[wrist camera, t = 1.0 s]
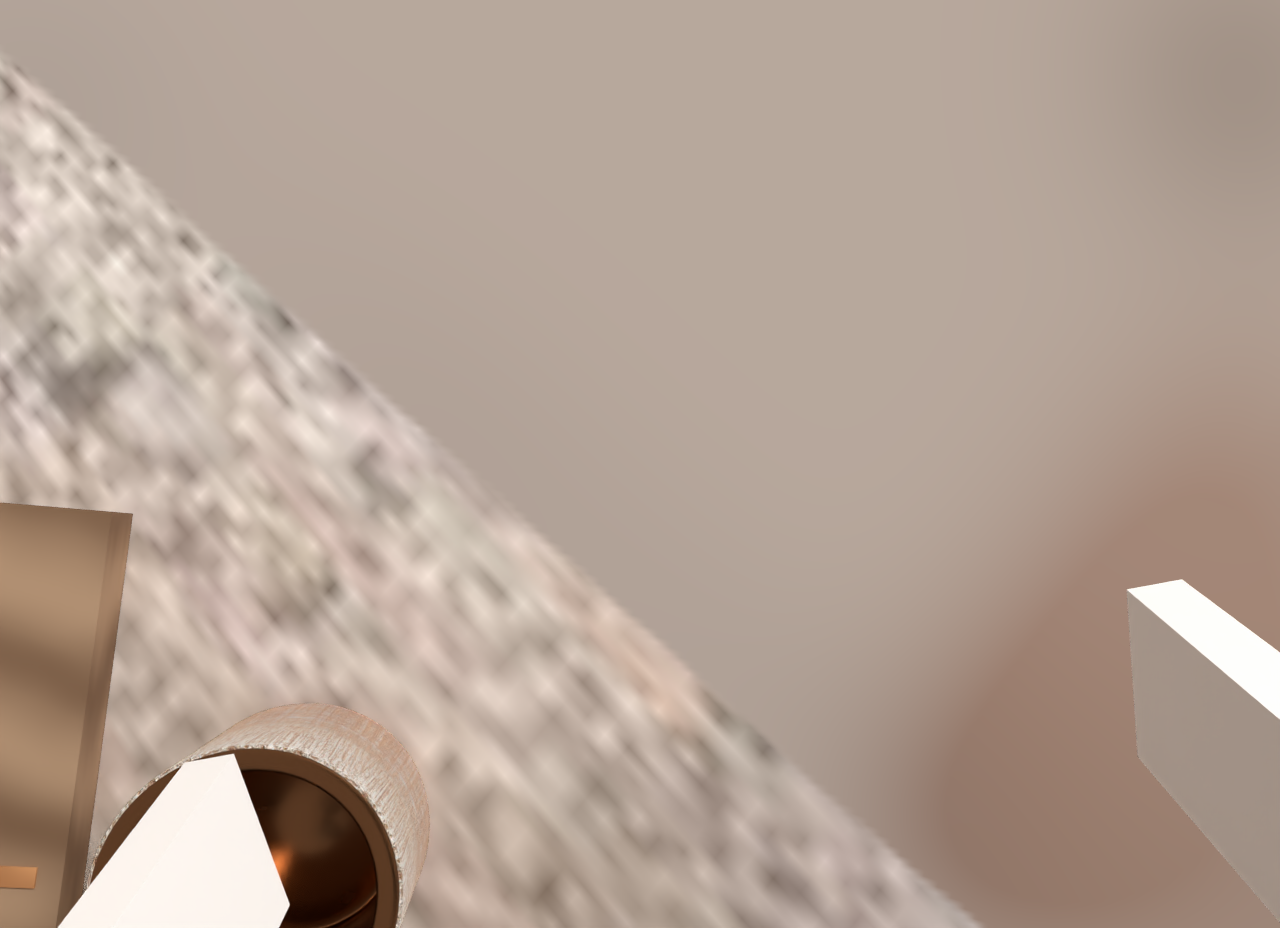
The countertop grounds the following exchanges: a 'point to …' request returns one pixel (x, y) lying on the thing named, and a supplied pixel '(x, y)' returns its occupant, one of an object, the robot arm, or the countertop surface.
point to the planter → (319, 812)
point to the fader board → (53, 697)
